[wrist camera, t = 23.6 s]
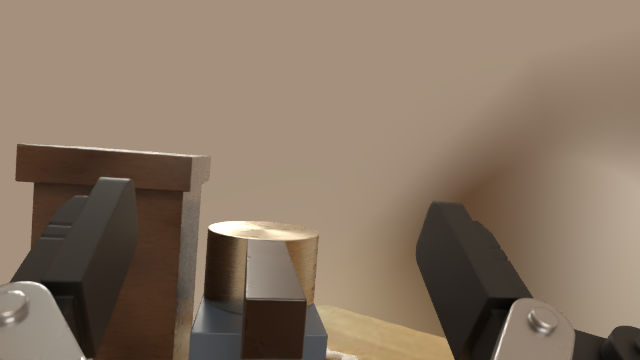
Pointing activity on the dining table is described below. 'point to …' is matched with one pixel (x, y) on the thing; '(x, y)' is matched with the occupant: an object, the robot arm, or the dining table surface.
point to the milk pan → (263, 283)
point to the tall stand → (152, 245)
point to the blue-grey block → (226, 329)
